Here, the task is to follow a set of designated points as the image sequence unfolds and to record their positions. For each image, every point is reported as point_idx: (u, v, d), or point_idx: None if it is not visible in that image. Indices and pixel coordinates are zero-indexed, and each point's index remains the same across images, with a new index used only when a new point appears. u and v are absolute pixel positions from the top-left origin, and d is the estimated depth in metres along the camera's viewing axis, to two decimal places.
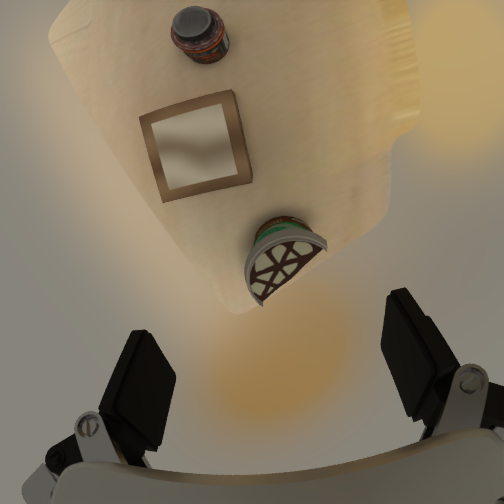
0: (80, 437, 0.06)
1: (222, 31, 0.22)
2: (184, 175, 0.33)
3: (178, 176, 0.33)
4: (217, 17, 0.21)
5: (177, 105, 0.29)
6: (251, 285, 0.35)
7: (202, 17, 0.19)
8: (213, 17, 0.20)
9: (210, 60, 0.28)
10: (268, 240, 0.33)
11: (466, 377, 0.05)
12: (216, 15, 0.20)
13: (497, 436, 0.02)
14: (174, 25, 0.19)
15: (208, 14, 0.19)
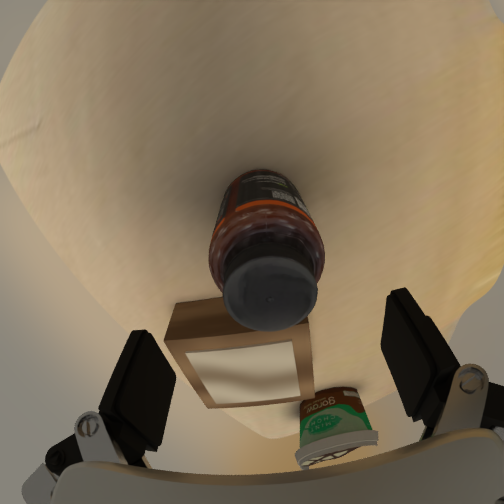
0: (80, 437, 0.06)
1: None
2: (235, 396, 0.25)
3: (228, 396, 0.25)
4: (318, 249, 0.13)
5: (223, 337, 0.21)
6: (301, 463, 0.28)
7: (298, 293, 0.11)
8: (311, 255, 0.12)
9: None
10: (325, 445, 0.26)
11: (466, 377, 0.05)
12: (316, 244, 0.13)
13: (497, 436, 0.02)
14: (229, 305, 0.11)
15: (313, 286, 0.11)
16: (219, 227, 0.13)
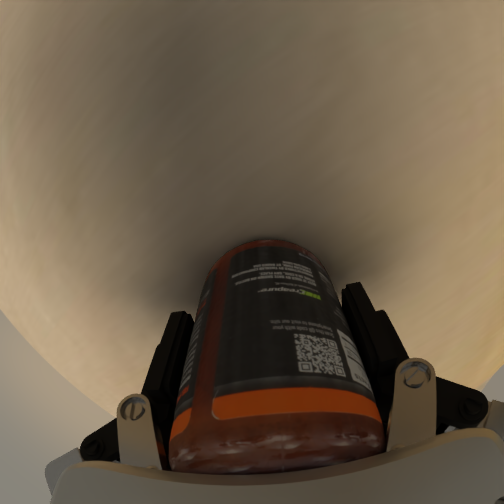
0: (124, 421, 0.06)
1: None
2: None
3: None
4: None
5: None
6: None
7: None
8: None
9: None
10: None
11: (409, 372, 0.06)
12: None
13: (497, 436, 0.02)
14: None
15: None
16: (180, 434, 0.05)
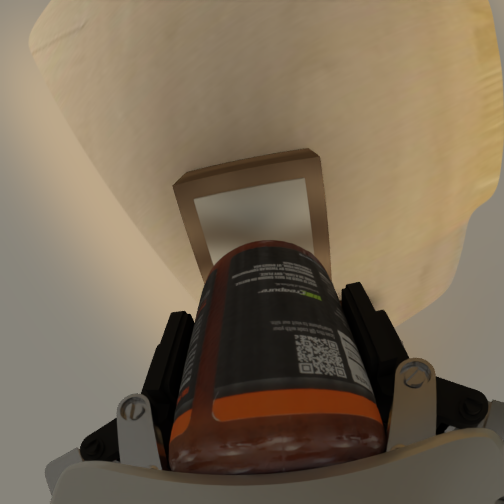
0: (125, 421, 0.06)
1: None
2: None
3: None
4: None
5: (235, 174, 0.21)
6: None
7: None
8: None
9: None
10: None
11: (409, 372, 0.06)
12: None
13: (497, 436, 0.02)
14: None
15: None
16: (180, 436, 0.05)
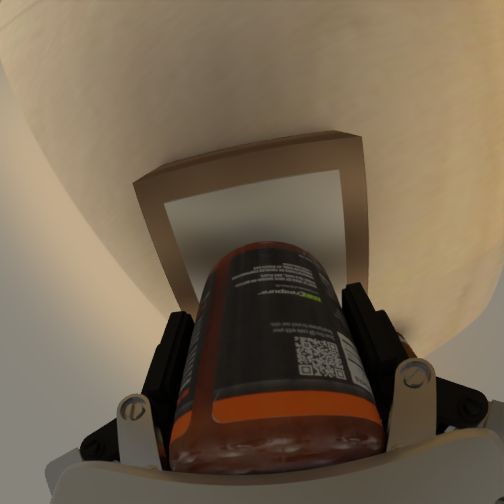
0: (125, 421, 0.06)
1: None
2: None
3: None
4: None
5: (229, 162, 0.13)
6: None
7: None
8: None
9: None
10: None
11: (409, 372, 0.06)
12: None
13: (497, 436, 0.02)
14: None
15: None
16: (181, 437, 0.05)
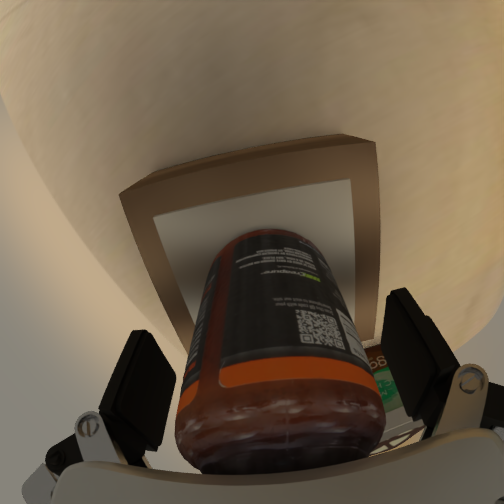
0: (80, 437, 0.06)
1: None
2: None
3: None
4: (378, 437, 0.05)
5: (225, 170, 0.11)
6: None
7: None
8: (366, 453, 0.05)
9: None
10: None
11: (466, 377, 0.05)
12: (378, 433, 0.05)
13: (497, 436, 0.02)
14: None
15: None
16: (187, 406, 0.05)
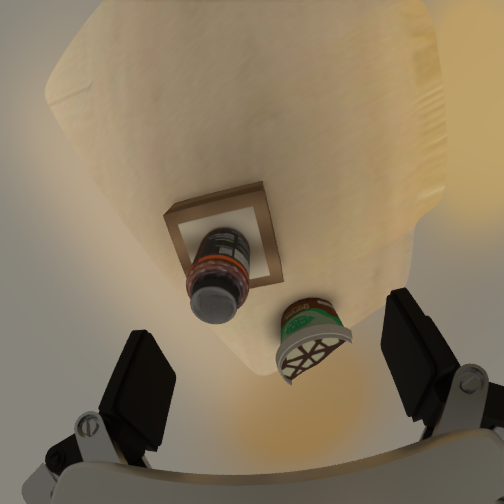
0: (80, 437, 0.06)
1: None
2: None
3: None
4: (241, 281, 0.24)
5: (205, 206, 0.31)
6: (282, 370, 0.36)
7: (226, 304, 0.22)
8: (237, 284, 0.24)
9: None
10: (299, 336, 0.34)
11: (466, 377, 0.05)
12: (240, 278, 0.24)
13: (497, 436, 0.02)
14: (193, 309, 0.23)
15: (233, 300, 0.22)
16: (190, 270, 0.25)
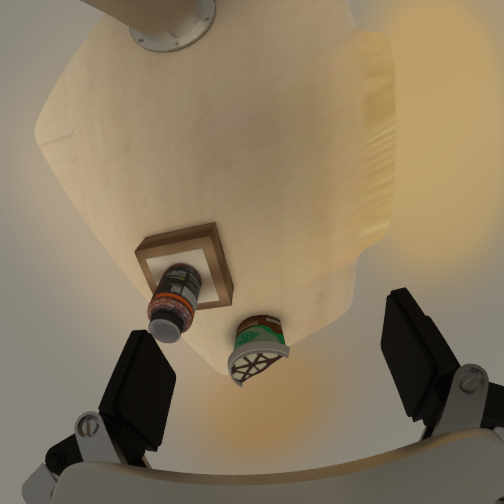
0: (80, 437, 0.06)
1: (192, 320, 0.33)
2: None
3: None
4: (185, 313, 0.31)
5: (165, 246, 0.38)
6: (232, 374, 0.44)
7: (172, 331, 0.30)
8: (181, 316, 0.31)
9: None
10: (243, 350, 0.42)
11: (466, 377, 0.05)
12: (184, 311, 0.31)
13: (497, 436, 0.02)
14: (151, 332, 0.30)
15: (177, 329, 0.30)
16: (150, 302, 0.32)
